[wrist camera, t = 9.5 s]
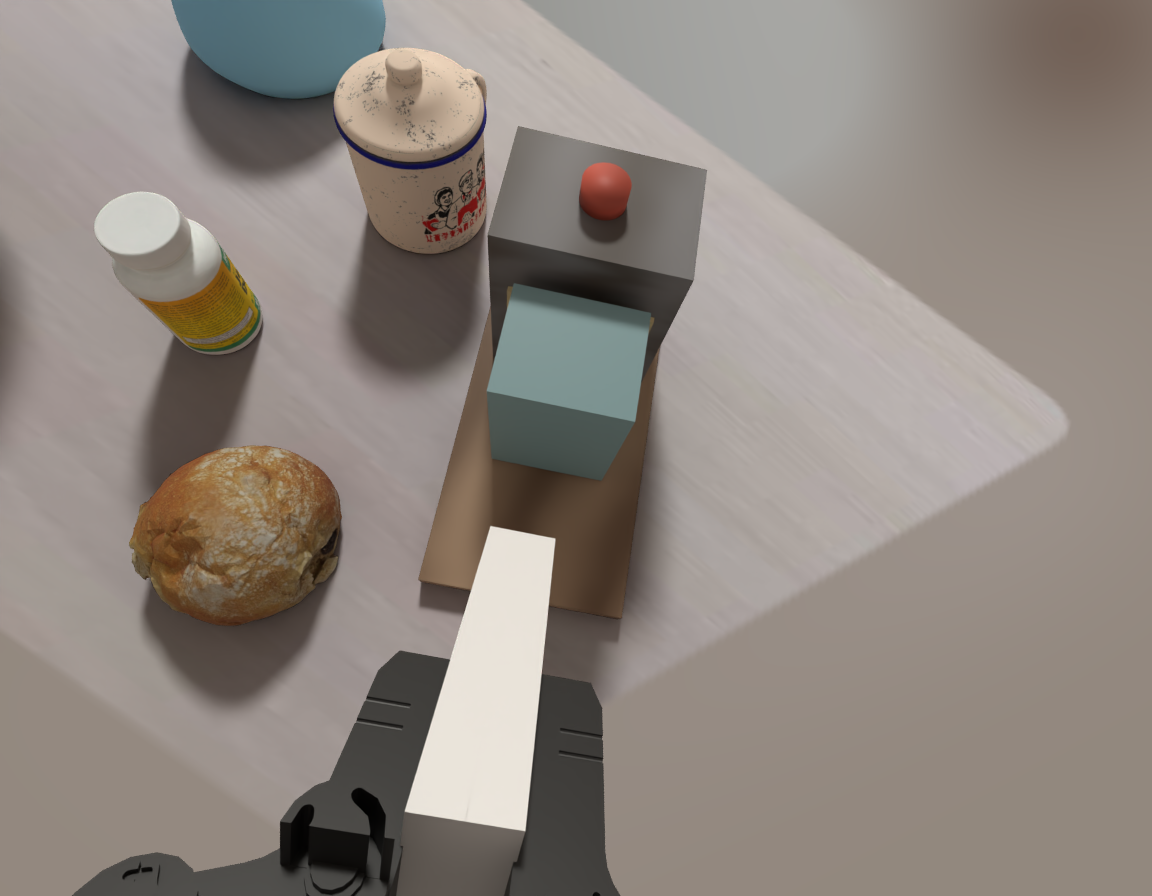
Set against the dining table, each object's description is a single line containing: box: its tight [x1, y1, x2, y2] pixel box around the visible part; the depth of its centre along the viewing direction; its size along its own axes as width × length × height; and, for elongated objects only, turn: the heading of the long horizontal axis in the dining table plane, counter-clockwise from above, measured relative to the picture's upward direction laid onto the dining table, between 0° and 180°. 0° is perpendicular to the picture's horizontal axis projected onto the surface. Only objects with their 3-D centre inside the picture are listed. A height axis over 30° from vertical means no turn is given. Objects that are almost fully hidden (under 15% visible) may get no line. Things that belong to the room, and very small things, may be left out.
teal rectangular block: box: [487, 283, 651, 481], centre depth 32 cm, size 7×6×10 cm
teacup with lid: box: [333, 48, 487, 254], centre depth 38 cm, size 12×9×12 cm
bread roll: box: [129, 445, 342, 626], centre depth 32 cm, size 10×10×8 cm
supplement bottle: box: [94, 192, 263, 355], centre depth 34 cm, size 5×5×10 cm
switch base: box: [418, 126, 707, 619], centre depth 32 cm, size 12×22×14 cm, turn 170°
